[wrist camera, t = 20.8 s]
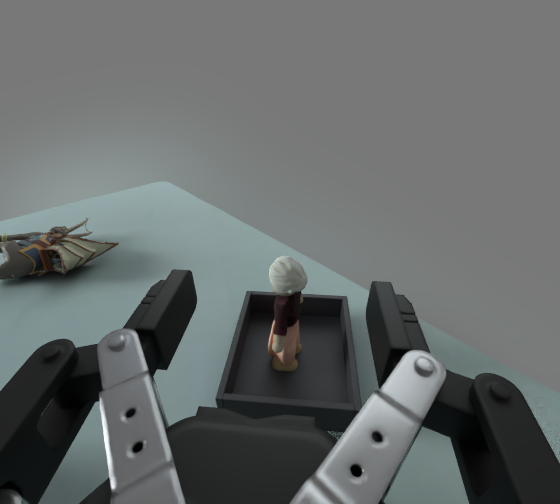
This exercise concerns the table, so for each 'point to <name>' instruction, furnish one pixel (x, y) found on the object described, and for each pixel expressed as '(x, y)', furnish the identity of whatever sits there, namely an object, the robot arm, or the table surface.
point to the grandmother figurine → (286, 312)
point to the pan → (310, 371)
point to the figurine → (48, 252)
